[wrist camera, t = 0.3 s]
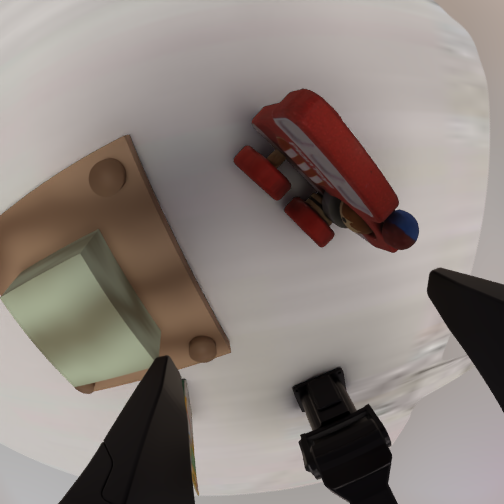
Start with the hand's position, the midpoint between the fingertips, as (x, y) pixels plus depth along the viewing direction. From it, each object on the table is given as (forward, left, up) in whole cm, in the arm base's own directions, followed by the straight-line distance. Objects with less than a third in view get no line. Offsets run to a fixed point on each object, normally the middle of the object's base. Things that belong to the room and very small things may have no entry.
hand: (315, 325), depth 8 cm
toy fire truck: (+1, -5, -15) cm, 15 cm away
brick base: (-2, +15, -14) cm, 21 cm away
